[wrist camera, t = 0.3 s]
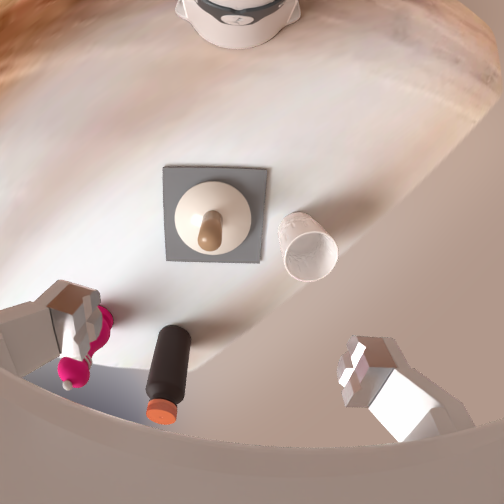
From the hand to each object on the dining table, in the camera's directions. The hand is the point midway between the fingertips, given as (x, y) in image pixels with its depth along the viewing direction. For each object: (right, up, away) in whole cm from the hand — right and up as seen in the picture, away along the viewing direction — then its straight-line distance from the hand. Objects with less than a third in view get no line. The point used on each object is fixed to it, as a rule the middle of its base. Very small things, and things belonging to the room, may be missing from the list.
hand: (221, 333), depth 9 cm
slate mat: (-5, +8, +39) cm, 40 cm away
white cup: (+8, +6, +41) cm, 42 cm away
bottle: (-15, -15, +49) cm, 54 cm away
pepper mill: (-31, -11, +46) cm, 56 cm away
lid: (-5, +8, +38) cm, 39 cm away
